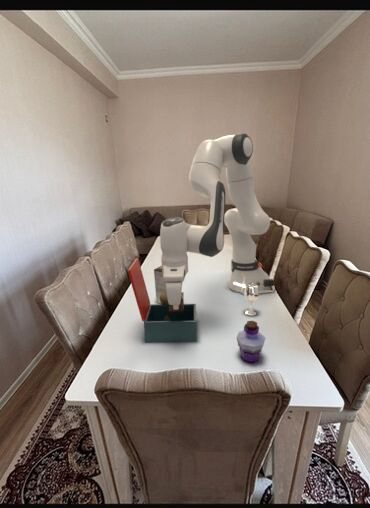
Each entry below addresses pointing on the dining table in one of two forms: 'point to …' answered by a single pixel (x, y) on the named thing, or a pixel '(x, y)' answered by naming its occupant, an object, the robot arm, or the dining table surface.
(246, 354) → the potion bottle
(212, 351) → the dining table surface
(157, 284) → the coffee box
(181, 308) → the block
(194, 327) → the lunchbox
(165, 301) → the pepper shaker
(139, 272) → the lid
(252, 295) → the wineglass
